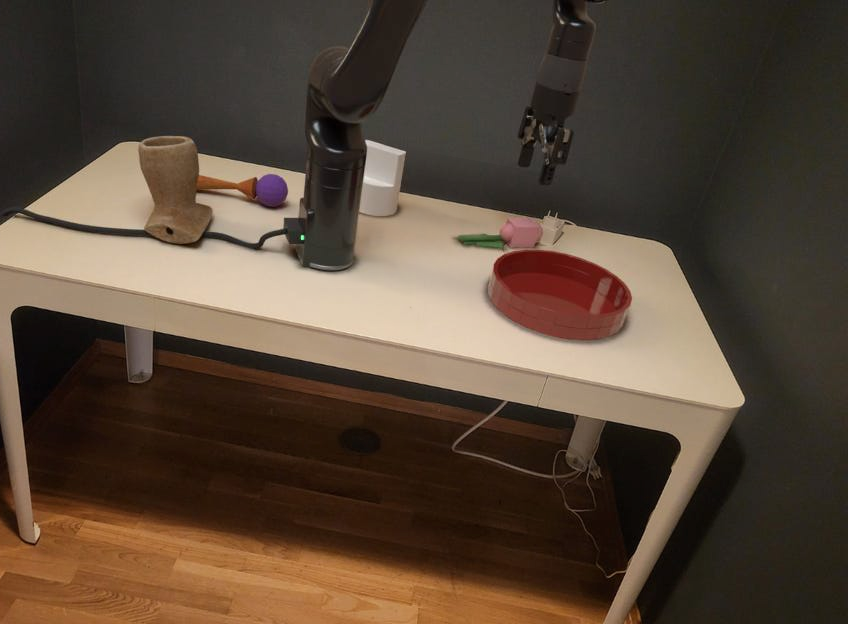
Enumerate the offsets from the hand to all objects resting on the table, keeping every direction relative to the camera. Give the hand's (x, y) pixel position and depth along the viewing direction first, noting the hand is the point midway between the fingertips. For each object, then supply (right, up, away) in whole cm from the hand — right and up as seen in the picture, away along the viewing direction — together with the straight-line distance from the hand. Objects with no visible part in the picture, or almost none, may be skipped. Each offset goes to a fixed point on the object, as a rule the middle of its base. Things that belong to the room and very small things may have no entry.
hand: (533, 175), depth 134 cm
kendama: (-55, -3, +7) cm, 56 cm away
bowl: (+1, -24, -12) cm, 27 cm away
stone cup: (-63, -11, -6) cm, 64 cm away
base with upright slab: (-29, -3, +13) cm, 32 cm away
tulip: (-5, -11, +6) cm, 14 cm away
